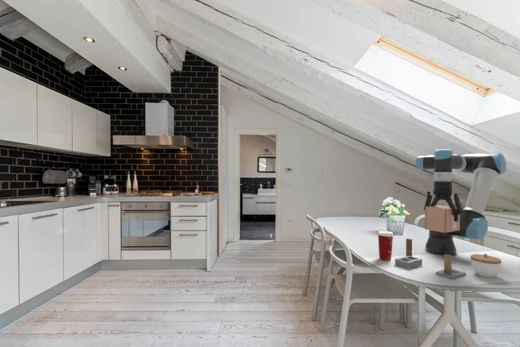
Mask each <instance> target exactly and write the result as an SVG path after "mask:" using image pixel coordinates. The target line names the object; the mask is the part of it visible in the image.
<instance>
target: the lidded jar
mask: <svg viewBox="0 0 520 347" xmlns="http://www.w3.org/2000/svg"><path fill="white" fill-rule="evenodd" d="M470 265H471V268H472V270H473V271H474V272H475V273H476V275H478V276H480V277H484V278H490V279H491V278H495V277H496V276H498V274H499V273H500V272H501V267H502V259H501V258H500V257H499V258H498V257H496V256H492V255H488V254H487V253H483V254H479V253H478V254H477V253H474V254H471V255H470Z"/></svg>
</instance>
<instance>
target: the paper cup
mask: <svg viewBox="0 0 520 347" xmlns="http://www.w3.org/2000/svg"><path fill="white" fill-rule="evenodd" d="M377 236H378V237H377V238H378V256H379V260H382V261H387V260H389V261H391V260H392V255H393V239H394V233H393V232H392V231H387V230H379V231H378V233H377Z"/></svg>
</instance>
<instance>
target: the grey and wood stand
mask: <svg viewBox="0 0 520 347" xmlns="http://www.w3.org/2000/svg"><path fill="white" fill-rule="evenodd" d="M452 259H453V255H449V254H444V255H443V269H442V270H438V271H436V272H435V275H437V276H440V277H443V278H448V279H451V280H456V279H458V278H461V277H463V276H466V272H465V271H461V270H457V269H455V268H454V269H453V268H452V265H453V264H452V263H453V262H452V261H453V260H452Z"/></svg>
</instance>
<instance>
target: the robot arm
mask: <svg viewBox="0 0 520 347" xmlns="http://www.w3.org/2000/svg"><path fill="white" fill-rule="evenodd" d="M415 167H416V168H417V169H418V170H433V179H434V181H433V191H432V190H430V191H429V190H428V191H427V192H426V193H427V195H426V196H427V197H426V199H425V204H424V207H423V210H424V211H425V207H430V206H432V207H433V206H437V204H438V202H439V201H440V200H442V201H445V202H446V203H447V205H448V207H450V208H452V212H453V215H452V226H451V228H452V229H454V228H456V222H458V215H459V214H460V230H458V231H452V232H447V233H444V232H438V231H432V230H428V238H427V241H426V243H425V246H424V247H425V248H424V249H425V251H426V252H429V253H432V254H436V255H443V256H444V254H449V255H452V256H455V255H457V247H456V244H455V242H454V237H458V238H464V239H468V240H477V241H478V240H481V239H483V238H484V237H485V236H486V234H488V233H487V232H488V230H489V221H488V220H487V219H486V216H485V215H484V212H485V209H486V206H487V203H488V200H489V196H490V193H491V190H492V188H493V185H494V181H495V180H497V179H499V177H500V174H502V175H503V174H505V173H506V171H507V161H506V158H505V156H504V154H502V153H501V152H492V153H469V154H463V155H460V154H453V149H450V148H449V149H443V148H442V149H436V150H434V155H419V156H417V157H416V159H415ZM453 171H454V172H457V173H458V172H460V173H467V174H473V175H474V179H473V182H472V185H471V186H470V191H469V193H468V196H467V199H466V202H465V204H464V205H465V206H464V207H462V204H461V201H460V200H461V199H460V192H453V182H452V181H453ZM433 196H434V197H433ZM452 197H453V199H452ZM432 199H433V200H432ZM453 200H454V201H453ZM456 208H457V209H456Z"/></svg>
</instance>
